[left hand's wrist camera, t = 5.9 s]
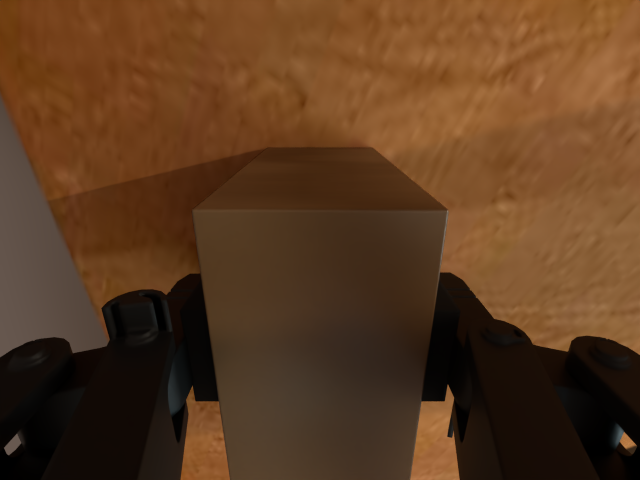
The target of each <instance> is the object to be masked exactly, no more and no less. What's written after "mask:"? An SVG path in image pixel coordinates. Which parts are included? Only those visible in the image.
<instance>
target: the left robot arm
mask: <svg viewBox="0 0 640 480" xmlns="http://www.w3.org/2000/svg"><path fill="white" fill-rule="evenodd" d="M101 309H102V312H103V316H104V320H105V323H106V327H107V331H108V334H109V338H110V341H109V343H108V345H107V346H106V347H102V348H98V349H93V350H88V351H83V352H77V353H72V350H71V347H70V344H69V342H68V341H66V340H65V339H63V338H56V337H53V338H44V339H37V340H35V341H30V342H27V343H25V344H23V345H21V346H19V347H17V348H15V349H12V350H11V351H9V352H8V353H6V354H5V355H3V356H2V357H0V480H180V478H181V470H182V462H183V454H184V446H185V438H186V430H187V422H188V408H187V403H186V398H187V396H188V394H189V392H190V390H191V387H192V385H193V389H194V395H195V401H219V398H218V391H217V384H216V377H215V370H214V363H213V356H212V349H211V342H210V335H209V328H208V321H207V314H206V308H205V301H204V294H203V287H202V280H201V274H189V275H187V276H185V277H184V278H182V279H181V280H179V281H178V282H177V283H176V284H175V285H174V287H173V288H172V289H171V292H169V293H168V294H167V295H165V294H164V293H163V292H161V291H157V290H153V289H150V290H137V291H132V292H128V293H125V294H122V295H120V296H117V297H115V298H114V299H112V300H110V301H108V302H107V303H106V304H105V305H104V306H103V307H102V308H101ZM447 385H449V387H450V390H451V392H452V394H453V396H454V403H453V408H452V413H451V418H450V424H449V429H448V436H447V437H451V438H452V436H453V431H454V437H455V445H456V453H457V461H458V469H459V477H460V480H640V355H639V354H637V353H636V352H634V351H633V350H631V349H629V348H628V347H625V346H623V345H621V344H619V343H617V342H615V341H613V340H610V339H608V340H607V339H606V338H602V337H593V336H581V337H576V338H575V339H574V340H572V341H571V344H570V348H569V351H568V352H566V351H561V350H556V349H550V348H545V347H540V346H536V345H533V344H532V342H531V340H530V338H529V337H528V336H527V335H526V334H525V332H523V331H522V330H520V329H519V328H517V327H516V326H514V325H512V324H509V323H507V322H505V321H501V320H496V319H494V318H493V317H492V316H491V314H490V313H489V312H488V311H487V309H486V308H485V307H484V306H483V305H482V303H481V302H480V301H479V300H478V298H476V296H475V295H474V293H473V292H472V291H470V288H469V287H468V286H467V285H466V284H465V282H464V281H463V280H462V279H460V278H458V277H457V276H455V275H453V274H452V273H440V275H439V282H438V289H437V296H436V303H435V310H434V317H433V324H432V331H431V338H430V345H429V351H428V358H427V365H426V372H425V379H424V386H423V393H422V400H421V401H445V396H446V391H447ZM624 432H625V433H626V434H627V435H628V436H629V437H630V438H631V440H632V441H633V442H634V443H635V444H636V445H637V448H636V450H635V452H634V454H631V453H630V452H629V451H627V450H626V449H625V448H624V446H623V445H622V444H621V443H620V439H621V437H622V435H623V433H624ZM16 434H18V436H19V439H20V441H21V444H20V446H19V447H18V448H17V449H16V450H15V451H14V452H13V453H11V454H10V455H7V454H6V452H5V449H4V447H5V446H6V445H7V444H8V443H9V442H10V440H11V439H12V438H13V437H14V436H15V435H16Z"/></svg>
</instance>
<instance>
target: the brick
mask: <svg viewBox="0 0 640 480" xmlns="http://www.w3.org/2000/svg"><path fill="white" fill-rule="evenodd" d="M448 213H449V211H448V209H447V208H445V207H444V206H443V205H442V204H441V203H439V202H438V201H437V200H436V199H434V198H433V197H432V196H431V195H430V194H428V193H427V192H426V191H425V190H424V189H422V188H421V187H420V186H419V185H417V184H416V183H415V182H414V181H413V180H411V179H410V178H409V177H408V176H406V175H405V174H404V173H403V172H402V171H400V170H399V169H398V168H397V167H396V166H394V165H393V164H392V163H391V162H389V161H388V160H387V159H386V158H385V157H383V156H382V155H381V154H380V153H379V152H377V151H376V150H375V149H374V148H267V149H265V150H264V151H263V152H262V153H260V154H259V155H258V156H257V157H256V158H254V159H253V160H252V161H251V162H250V163H248V164H247V165H246V166H245V167H243V168H242V169H241V170H240V171H239V172H237V173H236V174H235V175H234V176H233V177H231V178H230V179H229V180H228V181H226V182H225V183H224V184H223V185H222V186H220V187H219V188H218V189H217V190H216V191H214V192H213V193H212V194H211V195H210V196H208V197H207V198H206V199H205V200H203V201H202V202H201V203H200V204H199V205H197V206H196V207H195V208H194V209H193V210H192V217H193V224H194V231H195V238H196V245H197V252H198V259H199V266H200V273H201V280H202V287H203V294H204V301H205V308H206V314H207V321H208V328H209V335H210V342H211V349H212V356H213V363H214V370H215V377H216V384H217V391H218V398H219V405H220V412H221V419H222V426H223V433H224V440H225V447H226V454H227V461H228V468H229V475H230V480H410V477H411V470H412V463H413V456H414V449H415V442H416V435H417V428H418V421H419V414H420V407H421V400H422V393H423V386H424V379H425V372H426V365H427V358H428V351H429V345H430V338H431V331H432V324H433V317H434V310H435V303H436V296H437V289H438V282H439V275H440V268H441V261H442V254H443V247H444V240H445V233H446V226H447V219H448Z"/></svg>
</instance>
